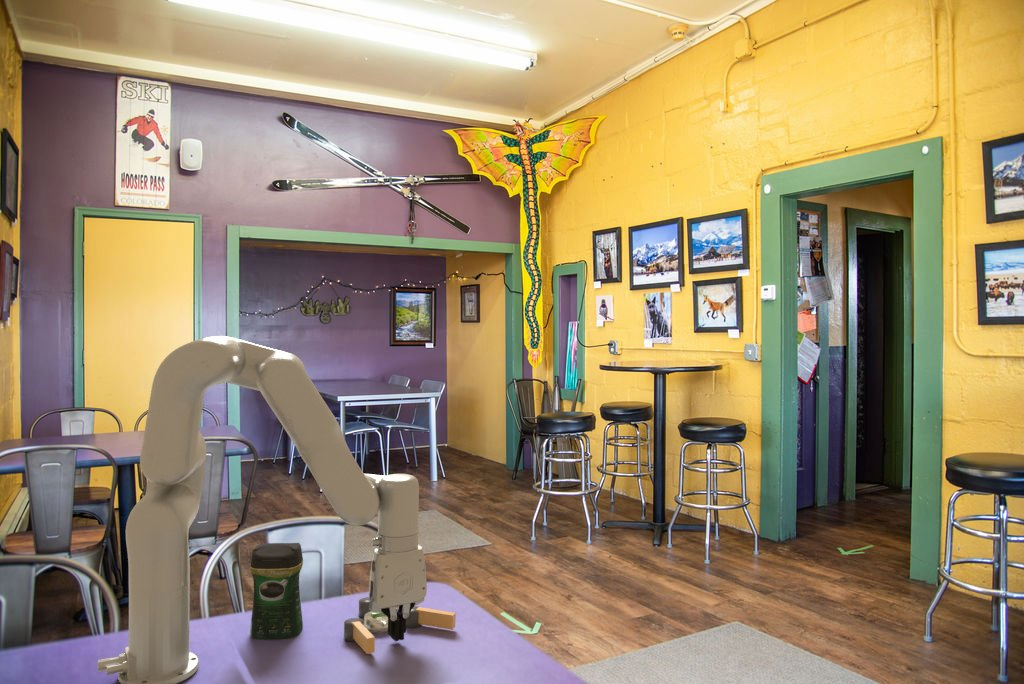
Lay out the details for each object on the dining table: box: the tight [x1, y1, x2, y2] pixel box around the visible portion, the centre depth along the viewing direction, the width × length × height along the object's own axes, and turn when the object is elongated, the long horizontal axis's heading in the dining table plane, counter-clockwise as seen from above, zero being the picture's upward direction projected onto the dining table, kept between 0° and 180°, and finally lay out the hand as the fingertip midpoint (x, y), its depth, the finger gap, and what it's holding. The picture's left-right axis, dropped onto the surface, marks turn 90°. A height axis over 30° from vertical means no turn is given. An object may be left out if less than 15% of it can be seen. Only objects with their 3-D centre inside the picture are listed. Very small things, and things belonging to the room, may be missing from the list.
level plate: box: [363, 611, 388, 634], centre depth 143 cm, size 18×18×4 cm
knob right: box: [406, 605, 457, 630], centre depth 143 cm, size 11×4×3 cm, turn 71°
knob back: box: [358, 596, 398, 619], centre depth 150 cm, size 11×4×3 cm, turn 122°
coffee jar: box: [249, 542, 304, 641], centre depth 140 cm, size 10×8×19 cm
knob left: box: [343, 617, 376, 655], centre depth 134 cm, size 11×4×3 cm, turn 32°
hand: (396, 637), depth 135 cm, fingers closed
